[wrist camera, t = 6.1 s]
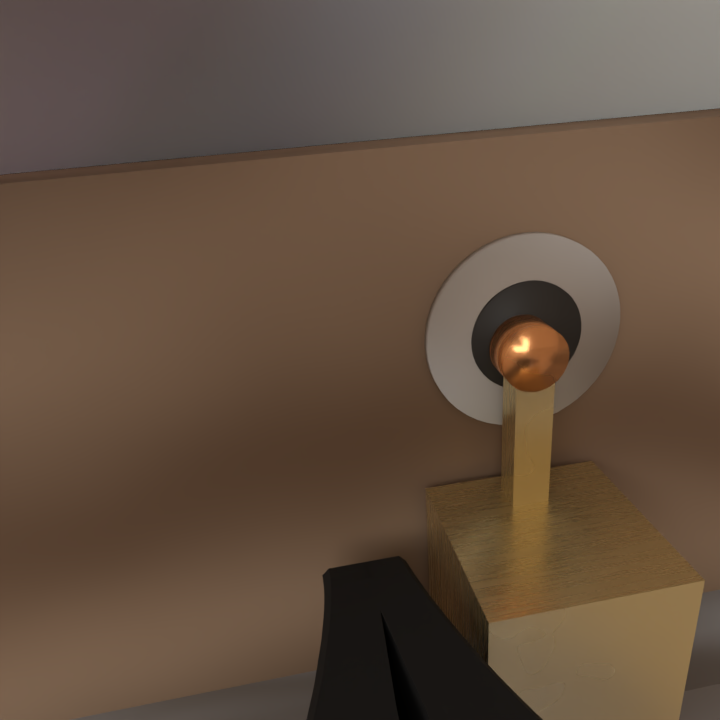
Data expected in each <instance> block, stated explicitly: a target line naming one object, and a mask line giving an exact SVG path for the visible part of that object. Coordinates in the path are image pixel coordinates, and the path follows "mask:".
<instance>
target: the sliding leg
mask: <svg viewBox="0 0 720 720" xmlns="http://www.w3.org/2000/svg"><path fill="white" fill-rule="evenodd" d="M489 356H490V359H491V362H492V364H493V365H494V367H495V368H496V369H497V370H498V371H499V372H500V373H501V374H502V375H503V420H502V469H501V476H498V477H492V478H486V479H480V480H474V481H468V482H462V483H456V484H450V485H444V486H438V487H432V488H426V516H427V543H428V571H429V595H430V596H431V597H432V599H433V600H434V601H435V603H436V604H437V605H438V606H439V608H440V609H441V610H442V611H443V613H444V614H445V615H446V616H447V618H448V619H449V620H450V621H451V623H452V624H453V625H454V626H455V627H456V629H457V630H458V631H459V632H460V633H461V634H462V635H463V637H464V638H465V639H466V640H467V641H468V642H469V643H470V645H471V646H472V647H473V648H474V649H475V650H476V651H477V653H478V654H479V655H480V656H481V657H482V658H483V659H484V660H485V662H486V663H487V664H488V665H489V666H490V667H491V668H492V669H493V670H494V671H495V672H496V673H497V674H498V676H499V677H500V678H501V679H502V680H503V681H504V682H505V683H506V684H507V685H508V686H509V687H510V688H511V689H512V690H513V691H514V692H515V693H516V694H517V695H518V696H519V697H520V698H521V699H522V700H523V701H524V702H525V703H526V704H527V705H528V706H529V707H530V708H531V709H532V710H533V711H534V712H535V713H536V714H537V715H538V716H540V717H541V718H542V719H543V720H679V717H680V711H681V706H682V701H683V695H684V690H685V685H686V679H687V674H688V669H689V663H690V658H691V653H692V647H693V642H694V637H695V631H696V626H697V621H698V615H699V610H700V605H701V599H702V594H703V589H704V583H705V580H704V579H703V578H702V577H701V576H700V575H699V574H698V573H697V571H696V570H695V569H694V568H693V567H692V566H691V565H690V564H689V563H688V562H687V561H686V560H685V559H684V558H683V557H682V556H681V555H680V554H679V552H678V551H677V550H676V549H675V548H674V547H673V546H672V545H671V544H670V543H669V542H668V541H667V540H666V539H665V538H664V537H663V536H662V534H661V533H660V532H659V531H658V530H657V529H656V528H655V527H654V526H653V525H652V524H651V523H650V522H649V521H648V520H647V519H646V518H645V517H644V515H643V514H642V513H641V512H640V511H639V510H638V509H637V508H636V507H635V506H634V505H633V504H632V503H631V502H630V501H629V500H628V499H627V497H626V496H625V495H624V494H623V493H622V492H621V491H620V490H619V489H618V488H617V487H616V486H615V485H614V484H613V483H612V482H611V481H610V480H609V478H608V477H607V476H606V475H605V474H604V473H603V472H602V471H601V470H600V469H599V468H598V467H597V466H596V465H595V464H594V463H593V462H592V461H588V462H582V463H576V464H570V465H564V466H558V467H552V468H550V463H551V445H552V428H553V410H554V392H555V383H556V382H557V381H558V380H559V379H560V377H561V376H562V375H563V373H564V372H565V370H566V368H567V365H568V362H569V347H568V344H567V342H566V340H565V339H564V337H563V336H562V335H561V334H559V333H558V332H557V331H555V330H554V329H553V328H552V327H550V326H549V325H548V324H546V323H545V322H544V321H542V320H541V319H540V318H538V317H536V316H533V315H518V316H514V317H512V318H510V319H508V320H506V321H505V322H503V323H502V324H501V325H500V326H499V327H498V328H497V329H496V331H495V332H494V334H493V336H492V338H491V341H490V344H489Z"/></svg>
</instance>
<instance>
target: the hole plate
mask: <svg viewBox="0 0 720 720" xmlns="http://www.w3.org/2000/svg"><path fill="white" fill-rule="evenodd" d="M518 315H533V316H536V317H538V318H540V319H541V320H542V321H544V322H545V323H546V324H548V325H549V326H550V327H552V328H553V329H554V330H555V331H557V332H558V333H559V334H561V335H562V336H563V337H564V339H565V340H566V342H567V344H568V347H569V362H568V365H567V368H566V370H565V372H564V373H563V375H562V376H561V377H560V379H559V380H558V381H557V382H556V383H555V392H554V410H553V428H552V445H551V463H550V468H552V467H558V466H564V465H570V464H576V463H582V462H588V461H592V462H593V463H594V464H595V465H596V466H597V467H598V468H599V469H600V470H601V471H602V472H603V473H604V474H605V475H606V476H607V477H608V478H609V480H610V481H611V482H612V483H613V484H614V485H615V486H616V487H617V488H618V489H619V490H620V491H621V492H622V493H623V494H624V495H625V496H626V497H627V499H628V500H629V501H630V502H631V503H632V504H633V505H634V506H635V507H636V508H637V509H638V510H639V511H640V512H641V513H642V514H643V515H644V517H645V518H646V519H647V520H648V521H649V522H650V523H651V524H652V525H653V526H654V527H655V528H656V529H657V530H658V531H659V532H660V533H661V534H662V536H663V537H664V538H665V539H666V540H667V541H668V542H669V543H670V544H671V545H672V546H673V547H674V548H675V549H676V550H677V551H678V552H679V554H680V555H681V556H682V557H683V558H684V559H685V560H686V561H687V562H688V563H689V564H690V565H691V566H692V567H693V568H694V569H695V570H696V571H697V573H698V574H699V575H700V576H701V577H702V578H703V579H704V580H705V583H704V589H703V594H702V599H701V605H700V610H699V615H698V621H697V626H696V631H695V637H694V642H693V647H692V653H691V658H690V663H689V669H688V674H687V679H686V685H685V690H684V695H683V701H682V706H681V711H680V717H679V720H720V109H709V110H698V111H687V112H676V113H666V114H655V115H644V116H633V117H622V118H611V119H601V120H590V121H579V122H568V123H557V124H546V125H535V126H525V127H514V128H503V129H492V130H481V131H470V132H460V133H449V134H438V135H427V136H416V137H405V138H394V139H384V140H373V141H362V142H351V143H340V144H329V145H319V146H308V147H297V148H286V149H275V150H264V151H253V152H243V153H232V154H221V155H210V156H199V157H188V158H177V159H167V160H156V161H145V162H134V163H123V164H112V165H102V166H91V167H80V168H69V169H58V170H47V171H36V172H26V173H15V174H4V175H0V720H306V719H307V715H308V711H309V706H310V702H311V697H312V693H313V688H314V683H315V677H316V671H317V664H318V658H319V652H320V645H321V638H322V628H323V618H324V584H323V576H322V575H323V574H324V573H325V572H326V571H327V570H328V569H329V568H334V567H340V566H345V565H351V564H356V563H362V562H368V561H373V560H379V559H384V558H390V557H395V556H400V557H401V558H403V559H404V560H406V562H407V563H408V565H409V566H410V568H411V569H412V571H413V572H414V574H415V575H416V577H417V578H418V580H419V581H420V582H421V584H422V585H423V587H424V588H425V589H426V591H427V592H428V593H429V571H428V543H427V516H426V488H432V487H438V486H444V485H450V484H456V483H462V482H468V481H474V480H480V479H486V478H492V477H498V476H501V469H502V420H503V375H502V374H501V373H500V372H499V371H498V370H497V369H496V368H495V367H494V365H493V364H492V362H491V359H490V356H489V344H490V341H491V338H492V336H493V334H494V332H495V331H496V329H497V328H498V327H499V326H500V325H501V324H502V323H503V322H505V321H506V320H508V319H510V318H512V317H514V316H518Z"/></svg>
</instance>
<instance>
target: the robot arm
mask: <svg viewBox="0 0 720 720" xmlns="http://www.w3.org/2000/svg"><path fill="white" fill-rule="evenodd" d="M322 576H323V584H324V618H323V628H322V638H321V645H320V652H319V658H318V664H317V671H316V677H315V683H314V688H313V693H312V697H311V702H310V706H309V711H308V715H307V719H306V720H543V719H542V718H541V717H540V716H538V715H537V714H536V713H535V712H534V711H533V710H532V709H531V708H530V707H529V706H528V705H527V704H526V703H525V702H524V701H523V700H522V699H521V698H520V697H519V696H518V695H517V694H516V693H515V692H514V691H513V690H512V689H511V688H510V687H509V686H508V685H507V684H506V683H505V682H504V681H503V680H502V679H501V678H500V677H499V676H498V674H497V673H496V672H495V671H494V670H493V669H492V668H491V667H490V666H489V665H488V664H487V663H486V662H485V660H484V659H483V658H482V657H481V656H480V655H479V654H478V653H477V651H476V650H475V649H474V648H473V647H472V646H471V645H470V643H469V642H468V641H467V640H466V639H465V638H464V637H463V635H462V634H461V633H460V632H459V631H458V630H457V629H456V627H455V626H454V625H453V624H452V623H451V621H450V620H449V619H448V618H447V616H446V615H445V614H444V613H443V611H442V610H441V609H440V608H439V606H438V605H437V604H436V603H435V601H434V600H433V599H432V597H431V596H430V595H429V593H428V592H427V591H426V589H425V588H424V587H423V585H422V584H421V582H420V581H419V580H418V578H417V577H416V575H415V574H414V572H413V571H412V569H411V568H410V566H409V565H408V563H407V562H406V560H404V559H403V558H401V557H400V556H395V557H390V558H384V559H379V560H373V561H368V562H362V563H356V564H351V565H345V566H340V567H334V568H329V569H328V570H327V571H326V572H325V573H324V574H323V575H322Z"/></svg>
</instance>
